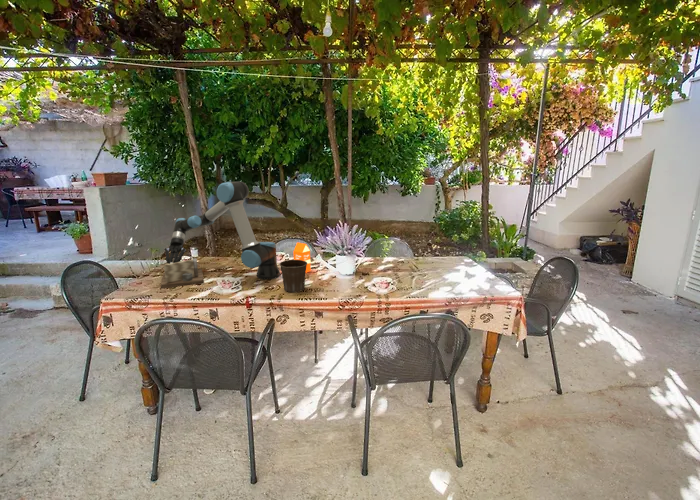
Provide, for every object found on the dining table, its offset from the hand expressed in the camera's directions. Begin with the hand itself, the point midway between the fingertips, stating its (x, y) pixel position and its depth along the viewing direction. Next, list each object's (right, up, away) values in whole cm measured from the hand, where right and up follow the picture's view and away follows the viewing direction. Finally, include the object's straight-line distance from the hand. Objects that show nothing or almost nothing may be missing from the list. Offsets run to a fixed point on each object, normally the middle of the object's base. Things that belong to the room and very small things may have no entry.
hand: (170, 272), depth 227 cm
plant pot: (+78, -10, -8) cm, 79 cm away
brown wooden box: (+3, -5, +11) cm, 13 cm away
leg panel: (+5, -5, +3) cm, 7 cm away
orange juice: (+78, -1, +28) cm, 83 cm away
